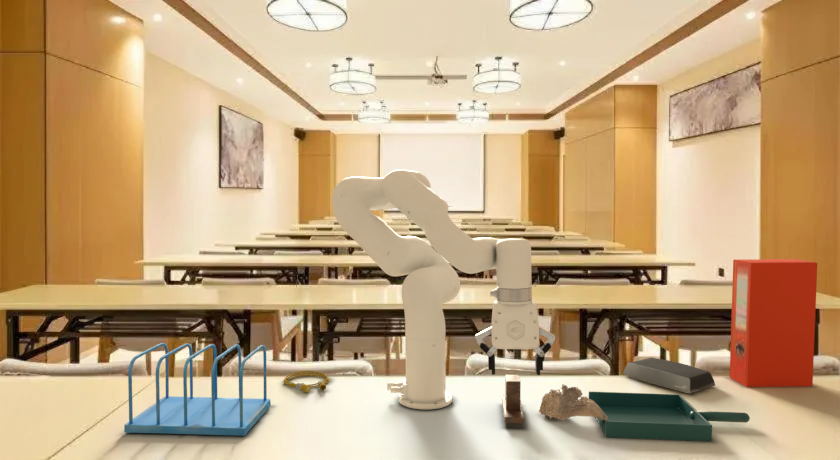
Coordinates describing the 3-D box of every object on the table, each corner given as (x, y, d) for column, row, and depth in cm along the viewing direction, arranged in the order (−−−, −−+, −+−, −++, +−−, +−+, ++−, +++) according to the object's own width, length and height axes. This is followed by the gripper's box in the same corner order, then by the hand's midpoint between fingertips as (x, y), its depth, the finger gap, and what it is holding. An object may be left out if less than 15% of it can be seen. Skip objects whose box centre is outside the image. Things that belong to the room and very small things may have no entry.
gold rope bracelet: (275, 393, 144) (275, 385, 144) (289, 374, 160) (289, 367, 160) (325, 393, 144) (325, 385, 144) (334, 374, 160) (334, 367, 160)
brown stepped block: (504, 428, 122) (504, 387, 121) (502, 405, 136) (502, 368, 135) (524, 429, 121) (524, 388, 121) (519, 406, 135) (519, 369, 135)
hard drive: (687, 396, 142) (687, 379, 142) (620, 376, 158) (621, 361, 158) (717, 386, 149) (717, 371, 149) (650, 368, 166) (650, 354, 165)
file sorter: (123, 434, 118) (121, 359, 118) (164, 404, 136) (163, 339, 135) (245, 436, 117) (244, 361, 117) (271, 406, 135) (270, 340, 134)
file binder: (813, 386, 150) (817, 262, 148) (747, 387, 149) (751, 262, 147) (791, 377, 158) (795, 259, 156) (729, 378, 157) (732, 259, 155)
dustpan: (605, 437, 117) (605, 421, 117) (588, 405, 136) (588, 391, 136) (771, 443, 114) (771, 427, 114) (730, 410, 133) (730, 396, 133)
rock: (604, 428, 121) (604, 394, 121) (536, 418, 128) (536, 386, 127) (609, 419, 126) (609, 386, 126) (544, 409, 133) (543, 378, 132)
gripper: (474, 298, 124) (475, 377, 125) (556, 297, 123) (558, 378, 123) (474, 293, 132) (475, 368, 132) (552, 292, 130) (553, 368, 131)
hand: (515, 373), depth 128 cm, fingers open, 9 cm apart
